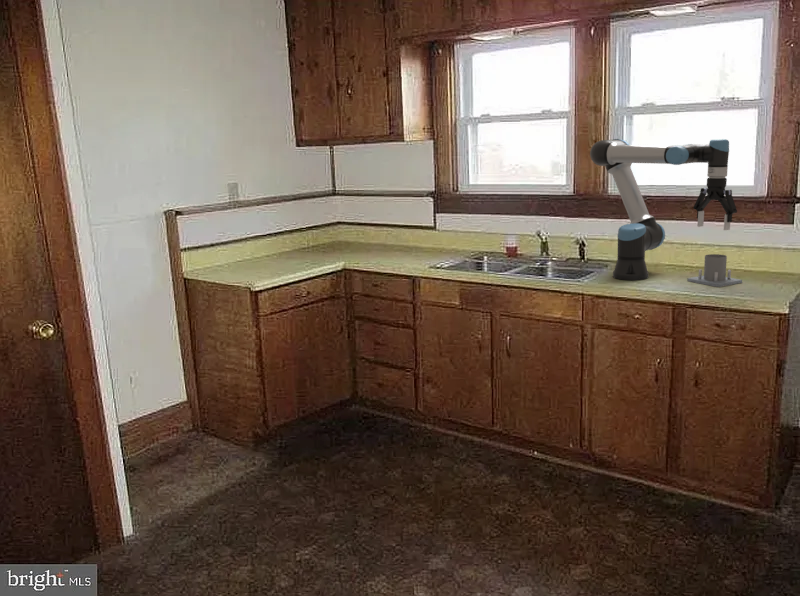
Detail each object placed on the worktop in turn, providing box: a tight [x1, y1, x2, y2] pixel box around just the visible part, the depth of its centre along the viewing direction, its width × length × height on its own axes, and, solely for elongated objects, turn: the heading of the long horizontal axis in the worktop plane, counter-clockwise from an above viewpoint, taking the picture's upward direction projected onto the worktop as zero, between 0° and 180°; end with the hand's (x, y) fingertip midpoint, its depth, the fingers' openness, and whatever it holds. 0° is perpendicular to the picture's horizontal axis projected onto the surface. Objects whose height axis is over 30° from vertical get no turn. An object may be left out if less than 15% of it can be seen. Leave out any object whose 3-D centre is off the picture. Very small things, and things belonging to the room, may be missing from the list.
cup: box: [703, 253, 728, 281], centre depth 300 cm, size 8×8×10 cm
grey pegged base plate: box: [686, 269, 743, 288], centre depth 300 cm, size 16×14×5 cm
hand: (713, 228), depth 300 cm, fingers open, 13 cm apart
